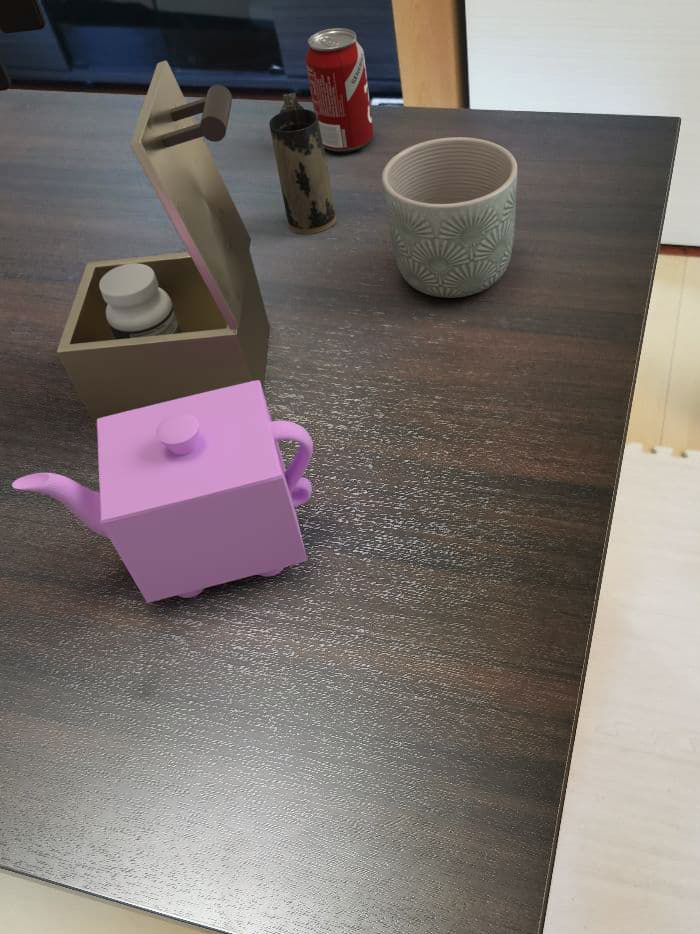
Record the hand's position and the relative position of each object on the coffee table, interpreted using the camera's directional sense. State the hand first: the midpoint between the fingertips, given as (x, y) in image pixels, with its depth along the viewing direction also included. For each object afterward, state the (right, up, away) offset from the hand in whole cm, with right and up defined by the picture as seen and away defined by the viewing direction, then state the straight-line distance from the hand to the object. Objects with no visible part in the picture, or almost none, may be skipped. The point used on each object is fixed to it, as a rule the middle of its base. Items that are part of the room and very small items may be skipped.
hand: (7, 58), depth 57 cm
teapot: (+11, -33, +9) cm, 36 cm away
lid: (+11, -6, +8) cm, 15 cm away
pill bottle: (+4, -17, +21) cm, 28 cm away
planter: (+32, -6, +28) cm, 43 cm away
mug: (+16, +4, +38) cm, 41 cm away
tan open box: (+7, -17, +22) cm, 29 cm away
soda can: (+20, +17, +48) cm, 54 cm away
